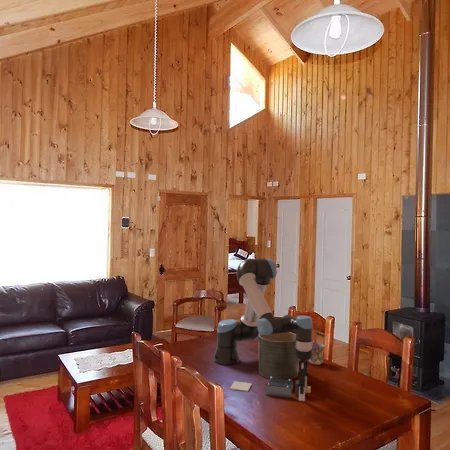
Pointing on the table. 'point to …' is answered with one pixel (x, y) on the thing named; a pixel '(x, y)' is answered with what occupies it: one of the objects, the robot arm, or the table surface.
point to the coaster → (241, 386)
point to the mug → (317, 353)
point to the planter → (278, 356)
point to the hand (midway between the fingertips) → (302, 394)
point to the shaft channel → (279, 387)
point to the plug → (307, 389)
